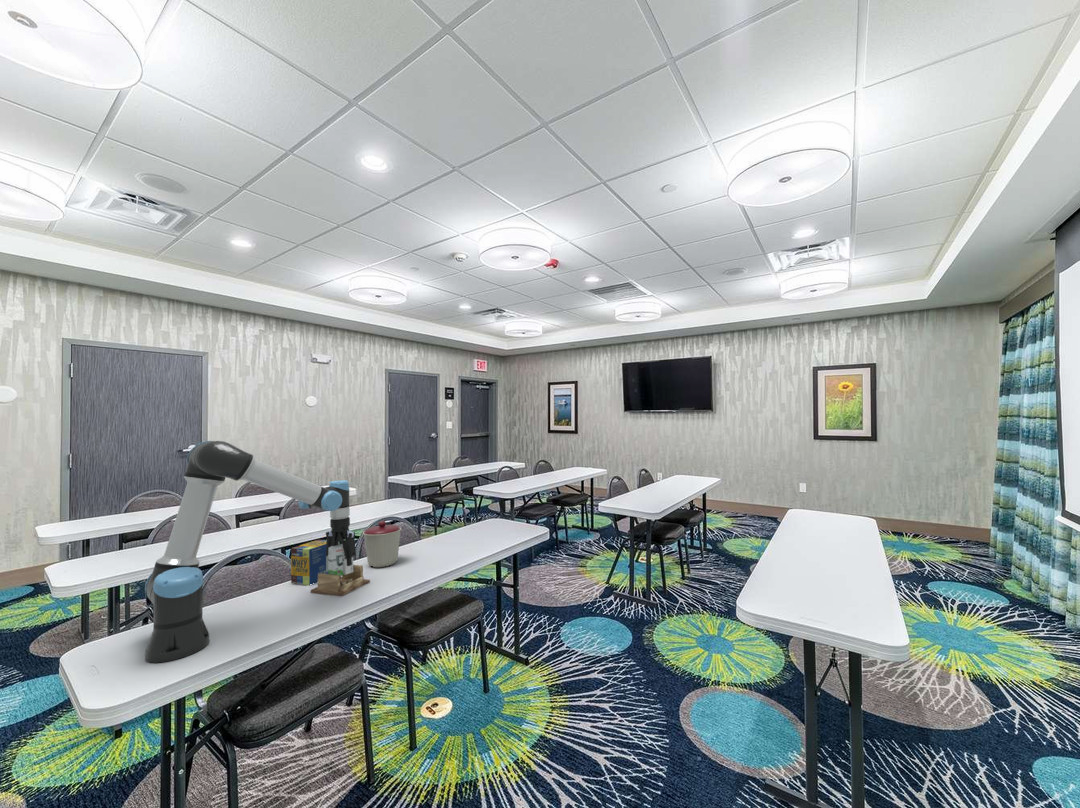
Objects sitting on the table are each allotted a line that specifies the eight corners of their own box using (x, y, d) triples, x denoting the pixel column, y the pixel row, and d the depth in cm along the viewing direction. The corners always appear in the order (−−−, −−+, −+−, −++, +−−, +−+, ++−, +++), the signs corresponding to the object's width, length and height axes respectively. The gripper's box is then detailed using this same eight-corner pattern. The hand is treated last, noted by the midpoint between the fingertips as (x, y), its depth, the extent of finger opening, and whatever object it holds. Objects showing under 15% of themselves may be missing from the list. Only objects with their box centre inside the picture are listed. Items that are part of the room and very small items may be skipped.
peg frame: (341, 596, 174) (341, 577, 174) (310, 592, 179) (310, 574, 179) (370, 582, 189) (369, 565, 189) (340, 579, 194) (340, 563, 194)
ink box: (333, 578, 179) (333, 548, 180) (328, 576, 182) (327, 547, 183) (354, 572, 186) (353, 544, 187) (348, 570, 189) (347, 542, 190)
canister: (383, 557, 226) (382, 516, 228) (410, 560, 219) (409, 518, 220) (354, 568, 210) (353, 523, 211) (382, 572, 202) (381, 525, 204)
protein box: (290, 584, 191) (290, 548, 192) (318, 572, 205) (318, 539, 206) (309, 586, 188) (308, 549, 188) (336, 574, 202) (336, 540, 203)
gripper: (364, 516, 186) (365, 571, 185) (329, 515, 192) (330, 568, 191) (351, 520, 179) (352, 577, 178) (315, 518, 185) (316, 574, 184)
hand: (341, 573), depth 184 cm, fingers closed on ink box, 6 cm apart
